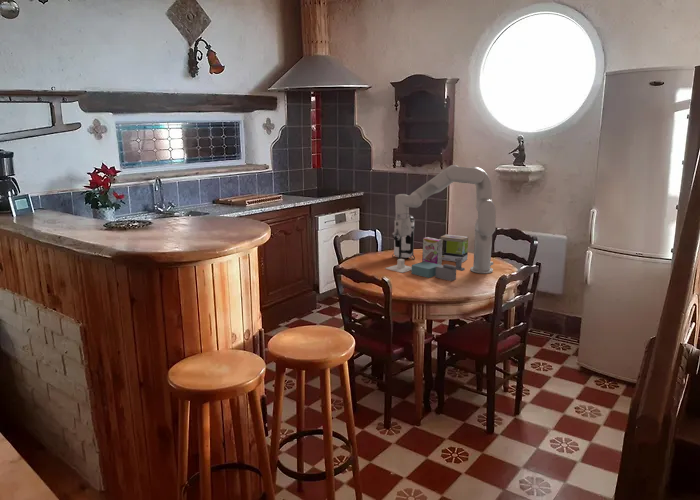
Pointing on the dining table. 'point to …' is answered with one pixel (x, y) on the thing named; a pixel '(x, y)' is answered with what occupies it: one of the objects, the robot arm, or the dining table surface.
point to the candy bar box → (432, 250)
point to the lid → (400, 267)
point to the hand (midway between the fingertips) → (402, 245)
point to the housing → (433, 271)
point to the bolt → (458, 265)
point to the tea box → (454, 247)
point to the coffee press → (404, 248)
